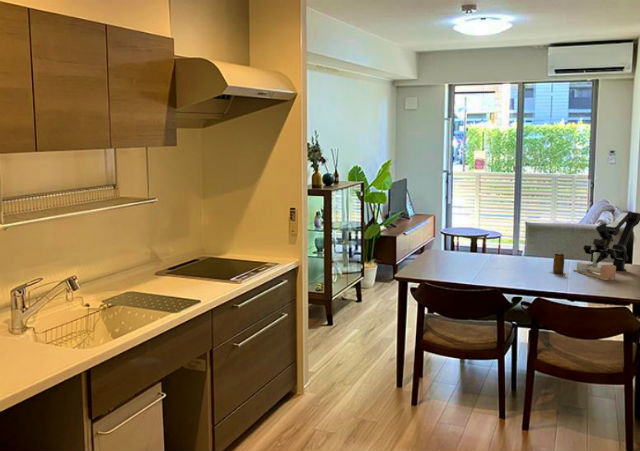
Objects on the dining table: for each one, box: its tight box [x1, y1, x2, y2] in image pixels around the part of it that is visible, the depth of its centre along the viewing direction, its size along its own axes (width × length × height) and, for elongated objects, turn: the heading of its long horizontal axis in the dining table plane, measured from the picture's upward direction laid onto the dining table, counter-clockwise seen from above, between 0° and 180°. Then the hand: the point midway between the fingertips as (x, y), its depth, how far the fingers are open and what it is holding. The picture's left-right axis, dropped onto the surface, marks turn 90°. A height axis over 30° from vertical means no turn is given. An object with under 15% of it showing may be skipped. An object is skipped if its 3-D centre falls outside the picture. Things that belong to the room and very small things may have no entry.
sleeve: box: [576, 260, 593, 273], centre depth 386 cm, size 5×8×5 cm, turn 22°
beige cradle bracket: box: [587, 252, 601, 274], centre depth 380 cm, size 3×15×12 cm, turn 22°
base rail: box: [572, 268, 616, 281], centre depth 380 cm, size 7×26×1 cm, turn 22°
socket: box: [600, 263, 617, 279], centre depth 370 cm, size 7×4×7 cm, turn 112°
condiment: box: [550, 252, 569, 276], centre depth 383 cm, size 7×8×12 cm
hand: (593, 262), depth 378 cm, fingers closed on beige cradle bracket, 3 cm apart
